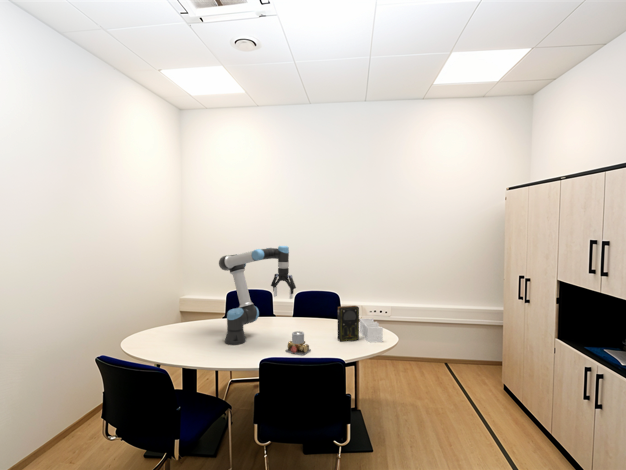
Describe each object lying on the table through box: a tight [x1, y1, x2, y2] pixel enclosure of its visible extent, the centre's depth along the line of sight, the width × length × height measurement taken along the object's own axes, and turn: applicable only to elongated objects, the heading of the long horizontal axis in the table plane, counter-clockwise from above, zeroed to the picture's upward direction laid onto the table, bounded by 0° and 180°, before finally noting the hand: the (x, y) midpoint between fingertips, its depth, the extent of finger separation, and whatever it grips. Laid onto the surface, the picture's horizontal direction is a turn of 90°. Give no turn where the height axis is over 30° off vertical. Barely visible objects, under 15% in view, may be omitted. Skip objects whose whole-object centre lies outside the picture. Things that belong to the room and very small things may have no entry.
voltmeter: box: [337, 305, 360, 343], centre depth 258 cm, size 16×9×25 cm, turn 105°
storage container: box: [359, 318, 384, 343], centre depth 265 cm, size 25×11×11 cm, turn 6°
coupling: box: [291, 330, 305, 344], centre depth 234 cm, size 8×8×6 cm
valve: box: [285, 331, 312, 357], centre depth 234 cm, size 14×11×12 cm
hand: (283, 297), depth 247 cm, fingers open, 13 cm apart
